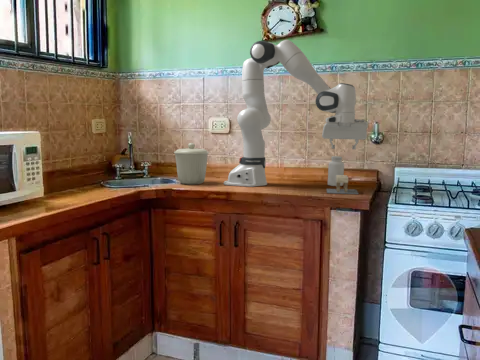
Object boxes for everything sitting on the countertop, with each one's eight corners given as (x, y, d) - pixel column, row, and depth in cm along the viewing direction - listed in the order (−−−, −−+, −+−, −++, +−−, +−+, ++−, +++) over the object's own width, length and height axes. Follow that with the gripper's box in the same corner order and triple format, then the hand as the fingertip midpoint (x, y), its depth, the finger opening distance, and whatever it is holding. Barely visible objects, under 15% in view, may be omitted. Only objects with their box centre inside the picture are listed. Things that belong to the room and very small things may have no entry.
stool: (335, 189, 221) (336, 175, 220) (346, 189, 220) (347, 175, 219) (336, 192, 213) (337, 177, 212) (347, 192, 212) (348, 177, 211)
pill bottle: (343, 186, 234) (344, 157, 232) (327, 186, 235) (328, 156, 233) (343, 184, 241) (344, 156, 239) (327, 184, 243) (328, 155, 241)
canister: (200, 186, 228) (200, 144, 225) (167, 184, 233) (167, 143, 230) (214, 182, 245) (214, 142, 242) (183, 180, 250) (183, 141, 248)
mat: (327, 193, 212) (327, 192, 212) (326, 189, 223) (326, 188, 223) (358, 194, 209) (358, 193, 209) (355, 190, 221) (356, 189, 221)
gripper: (367, 119, 213) (365, 149, 215) (322, 118, 217) (321, 147, 218) (368, 119, 207) (367, 150, 209) (323, 118, 210) (321, 148, 212)
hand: (343, 148), depth 214 cm, fingers open, 8 cm apart
